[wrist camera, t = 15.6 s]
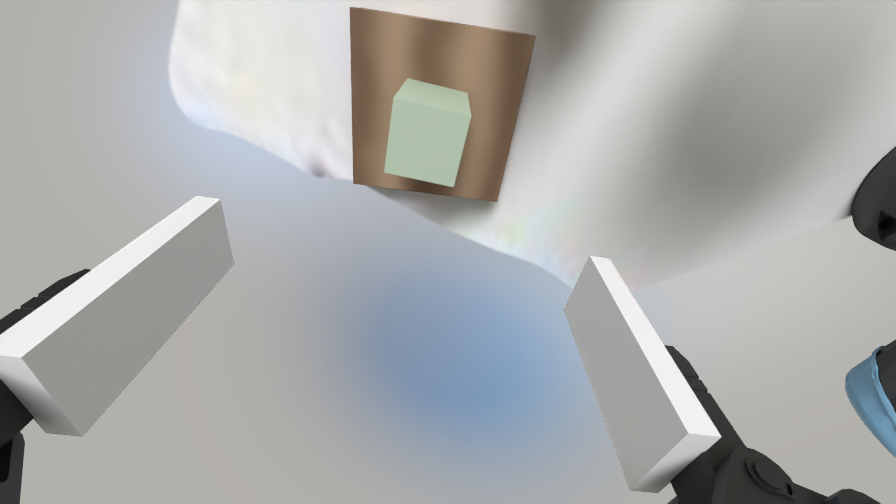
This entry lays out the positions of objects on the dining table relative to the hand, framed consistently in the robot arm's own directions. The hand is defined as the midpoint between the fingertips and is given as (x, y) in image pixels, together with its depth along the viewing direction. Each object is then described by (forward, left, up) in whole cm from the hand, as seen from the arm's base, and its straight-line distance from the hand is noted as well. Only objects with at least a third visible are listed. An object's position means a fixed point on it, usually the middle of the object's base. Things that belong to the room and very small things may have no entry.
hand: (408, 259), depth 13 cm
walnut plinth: (0, 0, -25) cm, 25 cm away
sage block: (0, 0, -21) cm, 21 cm away
